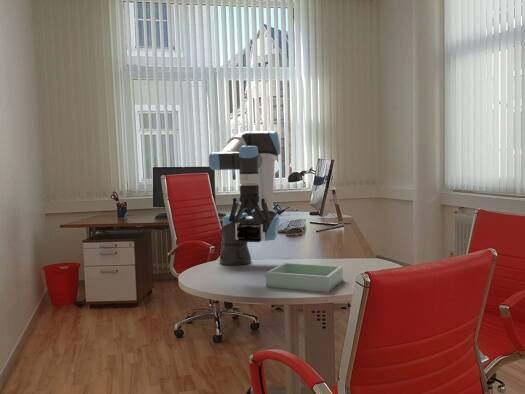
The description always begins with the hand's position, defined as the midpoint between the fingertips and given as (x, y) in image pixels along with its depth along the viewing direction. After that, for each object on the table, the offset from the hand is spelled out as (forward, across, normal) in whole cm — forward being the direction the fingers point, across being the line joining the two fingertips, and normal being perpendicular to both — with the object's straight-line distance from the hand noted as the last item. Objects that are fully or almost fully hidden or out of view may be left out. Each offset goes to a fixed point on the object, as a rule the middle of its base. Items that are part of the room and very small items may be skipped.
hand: (250, 239), depth 203 cm
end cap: (+1, 0, 0) cm, 1 cm away
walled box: (+16, +23, 0) cm, 28 cm away
